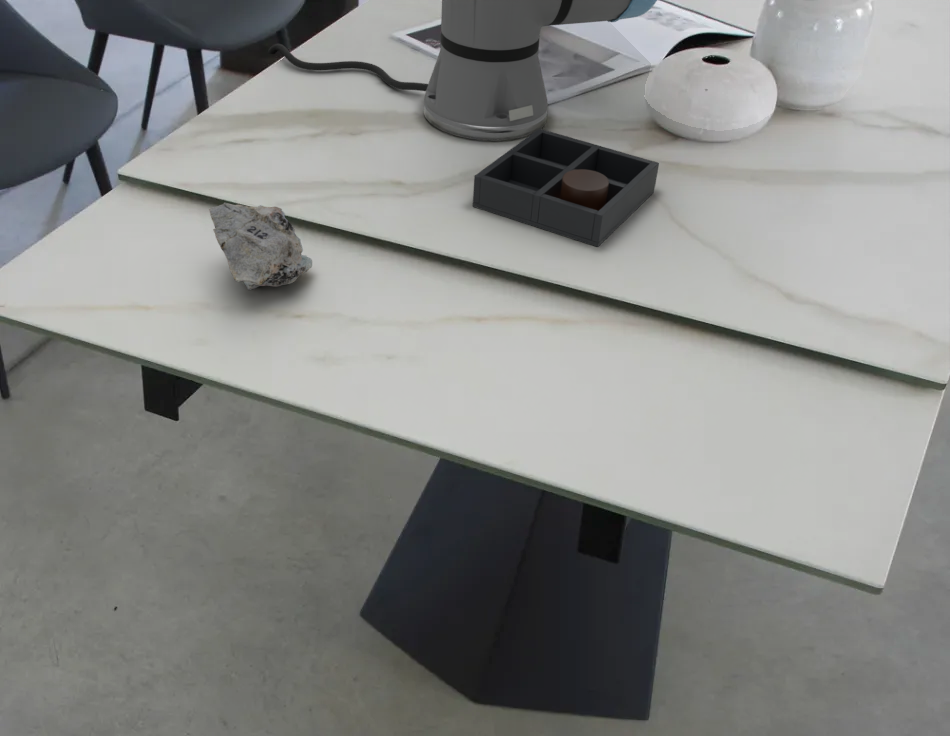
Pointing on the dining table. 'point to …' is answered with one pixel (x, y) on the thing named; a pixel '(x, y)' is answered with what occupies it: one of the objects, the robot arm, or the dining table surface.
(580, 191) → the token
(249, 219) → the mineral specimen
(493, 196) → the grid
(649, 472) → the dining table surface
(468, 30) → the robot arm
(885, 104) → the dining table surface
